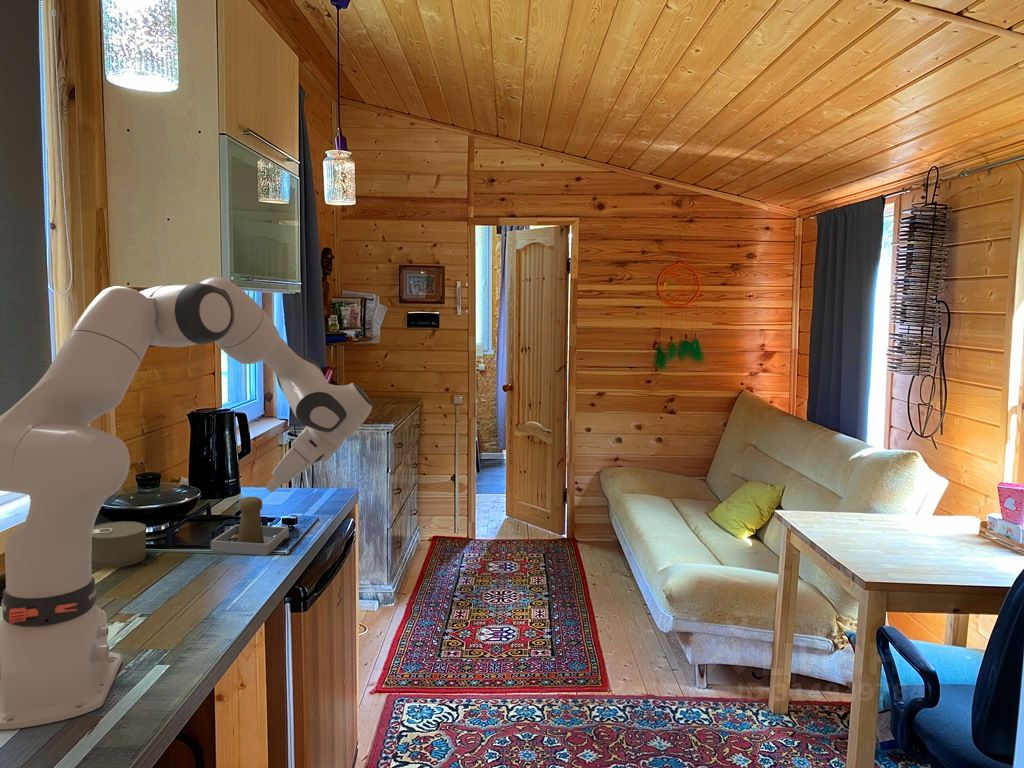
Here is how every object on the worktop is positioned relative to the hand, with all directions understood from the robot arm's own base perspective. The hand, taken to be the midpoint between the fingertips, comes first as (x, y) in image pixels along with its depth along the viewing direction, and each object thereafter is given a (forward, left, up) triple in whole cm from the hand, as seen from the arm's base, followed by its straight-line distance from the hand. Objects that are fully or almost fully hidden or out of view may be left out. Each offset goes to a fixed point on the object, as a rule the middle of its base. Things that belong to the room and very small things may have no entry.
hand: (277, 485), depth 172 cm
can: (+7, +33, -16) cm, 37 cm away
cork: (+5, +5, -15) cm, 16 cm away
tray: (+5, +5, -16) cm, 17 cm away
